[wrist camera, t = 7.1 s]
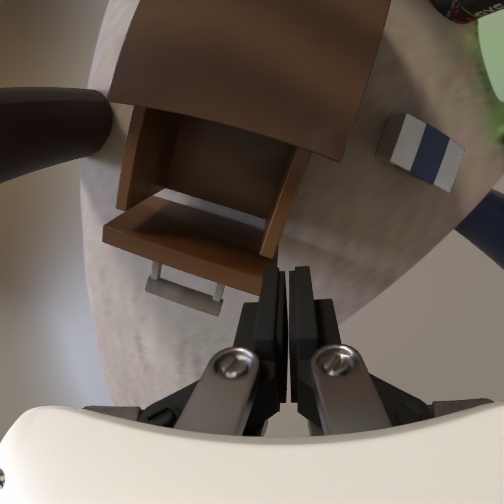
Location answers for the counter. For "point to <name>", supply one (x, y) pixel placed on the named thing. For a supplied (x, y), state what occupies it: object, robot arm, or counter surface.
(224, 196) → the drawer
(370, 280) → the counter surface
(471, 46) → the counter surface
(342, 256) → the counter surface
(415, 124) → the striped block
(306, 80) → the cabinet
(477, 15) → the deodorant
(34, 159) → the bottle
